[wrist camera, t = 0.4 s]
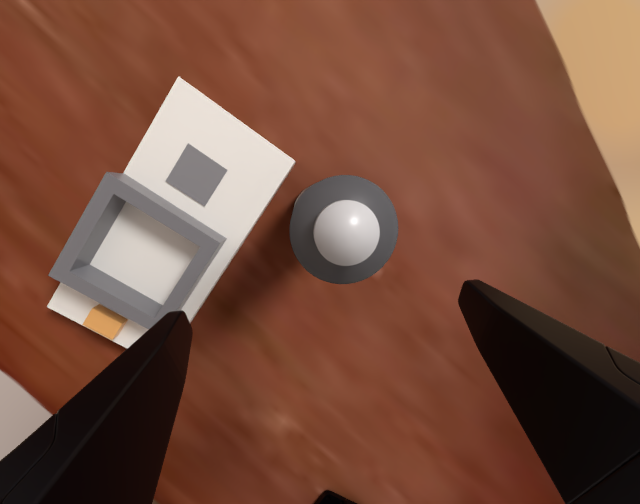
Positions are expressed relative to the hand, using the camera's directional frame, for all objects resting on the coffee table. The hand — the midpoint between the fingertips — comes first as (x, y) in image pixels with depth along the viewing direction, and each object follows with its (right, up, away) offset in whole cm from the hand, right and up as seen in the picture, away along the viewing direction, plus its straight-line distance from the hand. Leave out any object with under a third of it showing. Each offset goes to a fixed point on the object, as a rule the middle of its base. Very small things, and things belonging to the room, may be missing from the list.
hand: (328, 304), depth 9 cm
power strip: (-12, +3, +14) cm, 19 cm away
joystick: (0, +5, +14) cm, 15 cm away
